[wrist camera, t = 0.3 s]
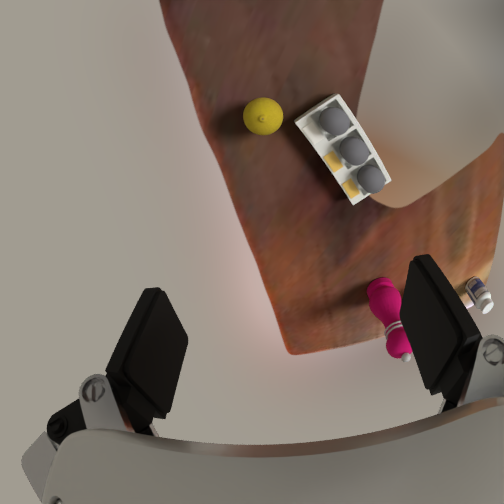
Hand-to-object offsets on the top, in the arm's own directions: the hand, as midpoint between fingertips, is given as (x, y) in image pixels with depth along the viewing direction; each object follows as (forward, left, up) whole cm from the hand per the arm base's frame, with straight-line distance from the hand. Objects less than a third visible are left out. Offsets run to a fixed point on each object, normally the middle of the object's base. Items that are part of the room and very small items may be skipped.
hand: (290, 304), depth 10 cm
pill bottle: (+58, +24, -36) cm, 73 cm away
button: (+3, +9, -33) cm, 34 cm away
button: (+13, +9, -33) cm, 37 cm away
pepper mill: (+39, 0, -36) cm, 53 cm away
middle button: (+8, +9, -33) cm, 35 cm away
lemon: (-4, +1, -36) cm, 36 cm away
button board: (+8, +8, -36) cm, 38 cm away
